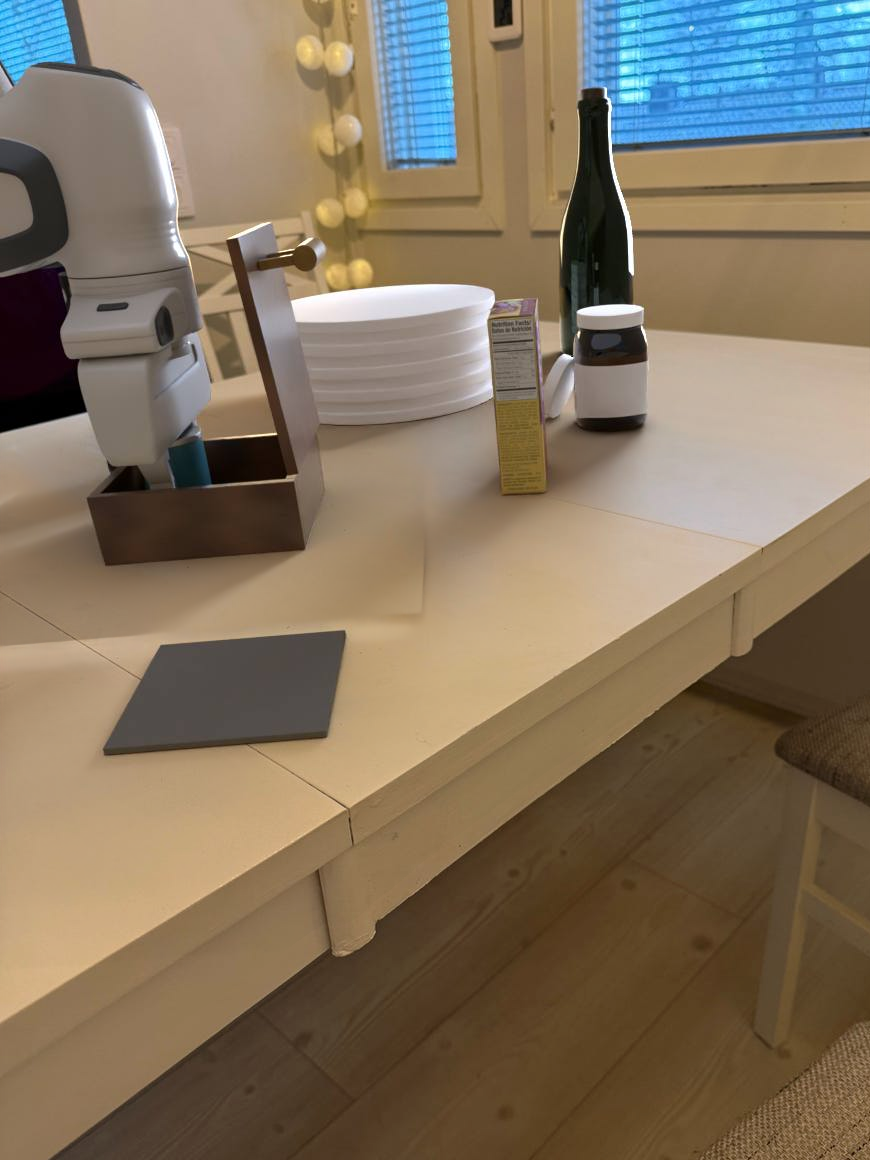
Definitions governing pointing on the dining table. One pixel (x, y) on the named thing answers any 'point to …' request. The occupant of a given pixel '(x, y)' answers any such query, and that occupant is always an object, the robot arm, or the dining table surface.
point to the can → (188, 459)
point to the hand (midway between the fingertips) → (179, 486)
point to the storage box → (211, 506)
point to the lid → (278, 333)
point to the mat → (232, 693)
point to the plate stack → (396, 351)
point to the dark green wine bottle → (593, 224)
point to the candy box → (518, 395)
